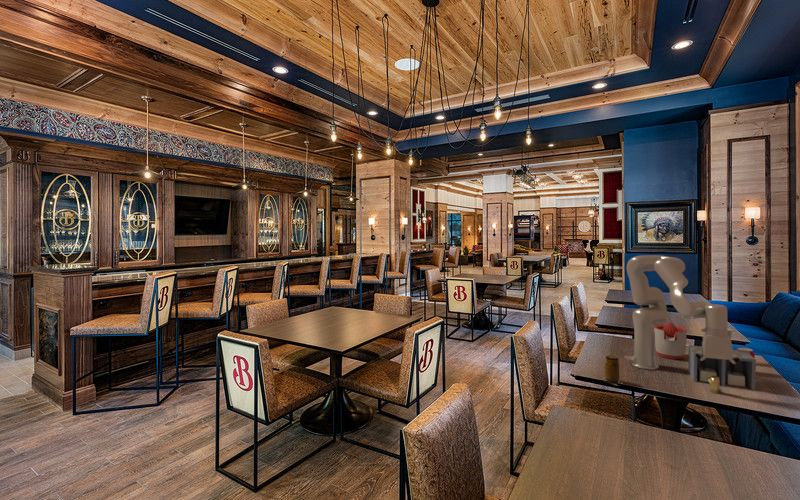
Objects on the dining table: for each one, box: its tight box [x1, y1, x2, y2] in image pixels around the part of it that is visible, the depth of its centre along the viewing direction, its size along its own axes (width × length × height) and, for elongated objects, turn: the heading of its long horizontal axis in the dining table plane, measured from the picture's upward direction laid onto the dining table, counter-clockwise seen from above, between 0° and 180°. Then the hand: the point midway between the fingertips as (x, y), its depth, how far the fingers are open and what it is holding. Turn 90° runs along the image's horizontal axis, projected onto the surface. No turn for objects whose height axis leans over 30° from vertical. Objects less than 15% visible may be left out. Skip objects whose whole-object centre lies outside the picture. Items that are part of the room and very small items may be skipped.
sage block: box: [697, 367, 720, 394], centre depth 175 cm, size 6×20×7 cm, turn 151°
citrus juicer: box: [653, 322, 688, 360], centre depth 216 cm, size 16×17×20 cm
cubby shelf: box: [687, 344, 757, 391], centre depth 180 cm, size 22×14×14 cm, turn 61°
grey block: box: [725, 371, 746, 388], centre depth 177 cm, size 6×6×5 cm
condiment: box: [604, 354, 620, 386], centre depth 181 cm, size 7×8×12 cm
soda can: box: [737, 347, 756, 359], centre depth 191 cm, size 7×7×12 cm
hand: (716, 370), depth 166 cm, fingers open, 9 cm apart
